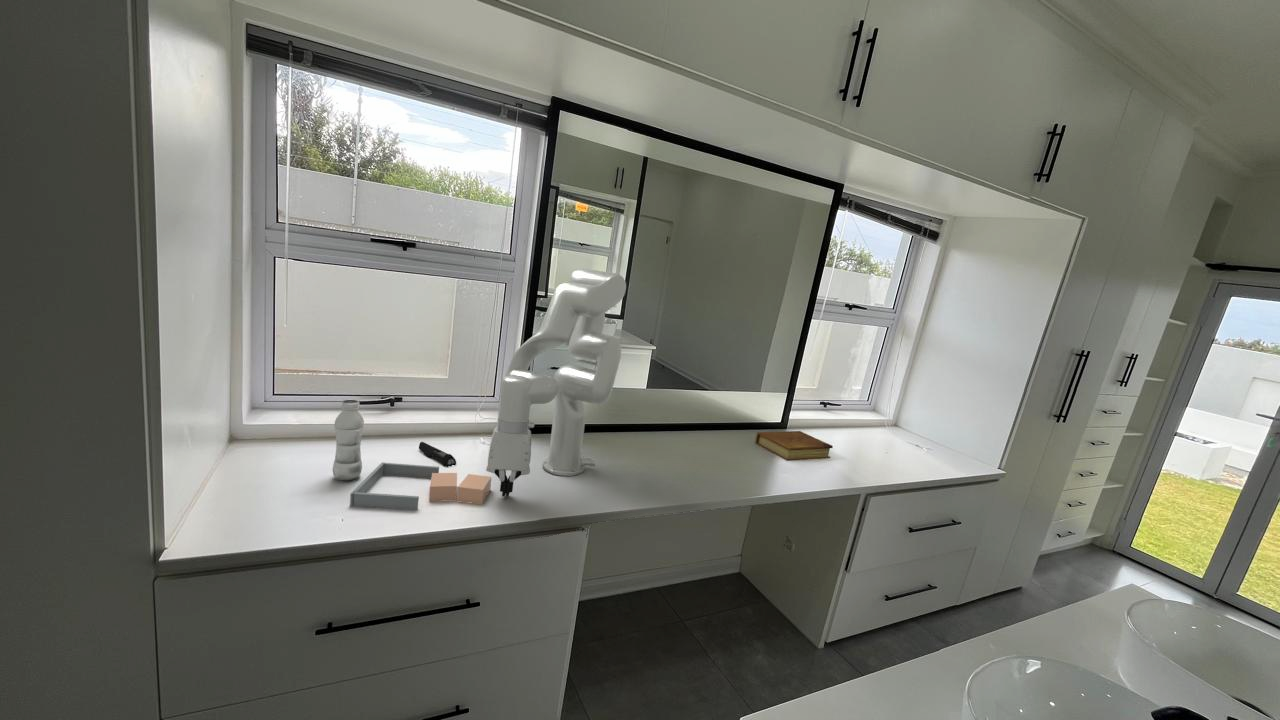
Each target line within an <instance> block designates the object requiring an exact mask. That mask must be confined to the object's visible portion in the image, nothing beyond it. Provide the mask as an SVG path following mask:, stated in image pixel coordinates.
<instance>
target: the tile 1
mask: <svg viewBox="0 0 1280 720" xmlns="http://www.w3.org/2000/svg"><path fill="white" fill-rule="evenodd" d="M457 490H458V472H439V473H432V477H431V478H430V485H429V496H428V497H429V499H428V502H442V501H441V500H456V501H457Z"/></svg>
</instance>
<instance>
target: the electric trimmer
mask: <svg viewBox="0 0 1280 720" xmlns="http://www.w3.org/2000/svg"><path fill="white" fill-rule="evenodd" d="M418 450H419V451H420V452H421V453H423V454H424V455H425V456H427V457H428V458H431V457H433V459H435V460H436V461H438V462H440V463H442V465H443V467H445V466H447V468H449V467H448V466H450V467H453V466H452V465H454V466H456V465H457V460H456V458H455V457H454V456H453V455H452V454H450V453H447V452H445V451H443V450H441V449H439V448H436V447H435V446H432V445H430V444H429V443H426V442H424V441H421V442H419V445H418Z"/></svg>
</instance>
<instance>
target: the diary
mask: <svg viewBox="0 0 1280 720" xmlns="http://www.w3.org/2000/svg"><path fill="white" fill-rule="evenodd" d="M754 443H755V444H756V445H757V446H759V447H761V448H763V449H764V450H766V451H768V452H770V453H772V454H774V455H775V456H777V457H779V458H781V459H783V460H785V461H787V462H789V461H790V462H791V461H805V460H806V461H807V460H823V459H831V456H829V455H830V451H831V450H830V449H833V447H834V446H833V445H832V444H829V443H827V442H825V441H823V440H821V439H818V438H816V437H814V436H812V435H810V434H807V433H806V432H803V431H801V430H795V431H794V430H791V431H790V430H788V431H787V430H786V431H758V432H757V433H756V435H755V441H754Z"/></svg>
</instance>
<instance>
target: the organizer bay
mask: <svg viewBox="0 0 1280 720" xmlns="http://www.w3.org/2000/svg"><path fill="white" fill-rule="evenodd" d="M432 473H440V466H435V465H421V464H411V463H410V464H407V463H393V462H381V463H380V464H378V466H377V467H375V469H373V470H372V471H371V473H369V475H368V476H366V478H364V480H362V482H360V483H359V484H358V485H357V487H355V489H353V490H352V491H351V492H350V496H349V498H350V500H349V507H362V508H378V509H379V508H381V509H396V510H397V509H399V510H410V511H411V510H413V511H417V510H418V509H419V498H420V496H419V495H406V494H404V495H403V494H391V493H389V494H388V493H373V492H369V490H370V489H372V487H374V486H375V484H376V483H377V482H378V481H379V480H380V479H381V477H382V476H383V475H385V476H396V477H397V476H398V477H413V478H422V479H423V478H425V479H431V477H432Z"/></svg>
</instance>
